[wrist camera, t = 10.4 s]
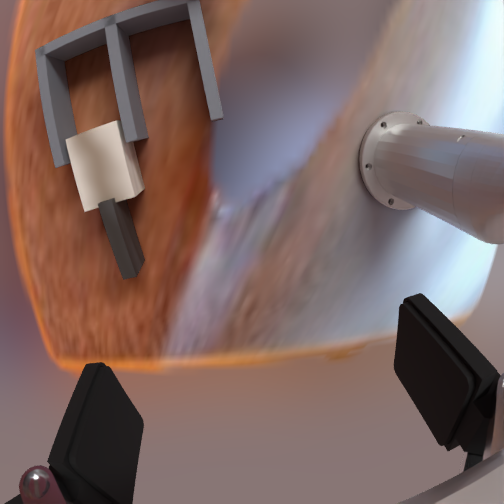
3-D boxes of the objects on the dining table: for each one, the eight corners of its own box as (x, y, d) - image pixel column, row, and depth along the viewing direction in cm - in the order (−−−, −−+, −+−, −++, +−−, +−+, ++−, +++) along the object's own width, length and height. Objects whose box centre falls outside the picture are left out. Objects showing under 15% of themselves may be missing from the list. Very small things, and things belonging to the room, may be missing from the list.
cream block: (128, 121, 31) (113, 120, 26) (163, 252, 37) (155, 272, 32) (82, 137, 31) (61, 140, 26) (119, 263, 37) (105, 283, 32)
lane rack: (199, 8, 27) (197, -9, 22) (222, 119, 32) (223, 117, 27) (55, 57, 26) (35, 50, 22) (74, 162, 32) (55, 168, 27)
